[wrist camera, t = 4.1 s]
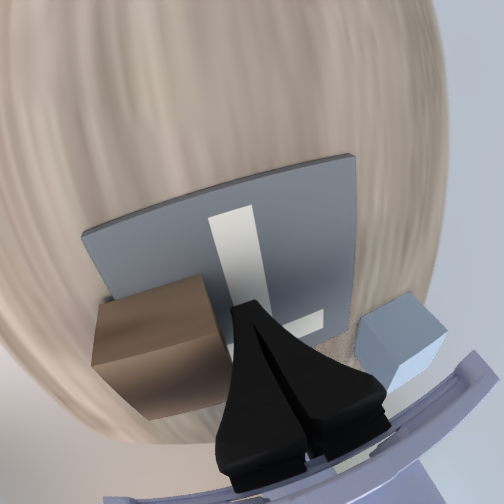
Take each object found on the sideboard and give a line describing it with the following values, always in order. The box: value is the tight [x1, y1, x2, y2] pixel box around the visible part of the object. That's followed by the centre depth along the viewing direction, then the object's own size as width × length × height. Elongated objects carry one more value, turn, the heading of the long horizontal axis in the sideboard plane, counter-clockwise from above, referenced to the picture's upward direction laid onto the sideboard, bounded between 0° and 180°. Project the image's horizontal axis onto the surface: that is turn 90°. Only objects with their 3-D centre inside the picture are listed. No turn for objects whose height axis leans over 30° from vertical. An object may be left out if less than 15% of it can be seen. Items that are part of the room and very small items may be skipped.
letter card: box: [81, 154, 357, 361], centre depth 14 cm, size 12×12×1 cm
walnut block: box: [91, 274, 233, 420], centre depth 11 cm, size 5×5×4 cm
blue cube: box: [354, 292, 448, 394], centre depth 18 cm, size 5×5×5 cm
